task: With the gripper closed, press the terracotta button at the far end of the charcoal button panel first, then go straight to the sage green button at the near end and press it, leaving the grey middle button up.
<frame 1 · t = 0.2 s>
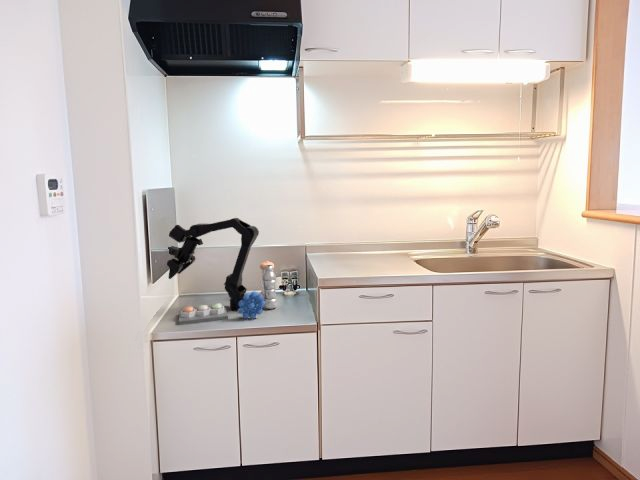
hand: (174, 275, 203), 15 cm above the counter, tool tilted 30°, fingers open, 9 cm apart
grey button: (202, 308, 188), point 4 cm above the counter, slide at 0.0 cm
pepper shaker: (268, 299, 215), on the counter
terracotta button: (188, 310, 186), point 4 cm above the counter, slide at 0.0 cm
sage button: (216, 307, 190), point 4 cm above the counter, slide at 0.0 cm
grapes: (252, 318, 186), on the counter
plastic bottle: (270, 308, 199), on the counter
button panel: (203, 317, 189), on the counter
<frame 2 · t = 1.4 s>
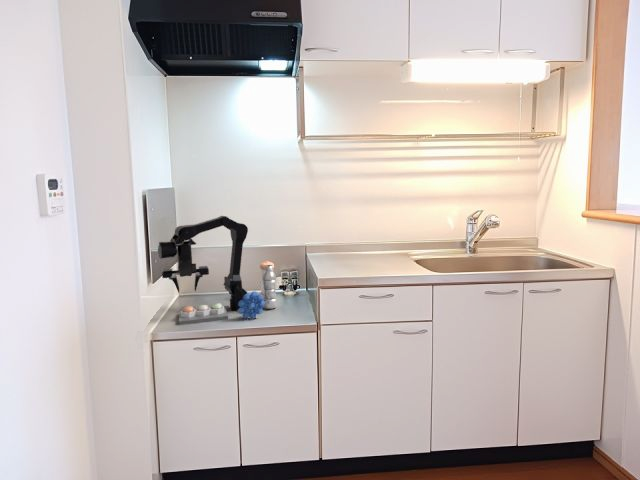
hand: (187, 291, 185), 12 cm above the counter, tool pointing down, fingers open, 6 cm apart
nothing on the counter moved.
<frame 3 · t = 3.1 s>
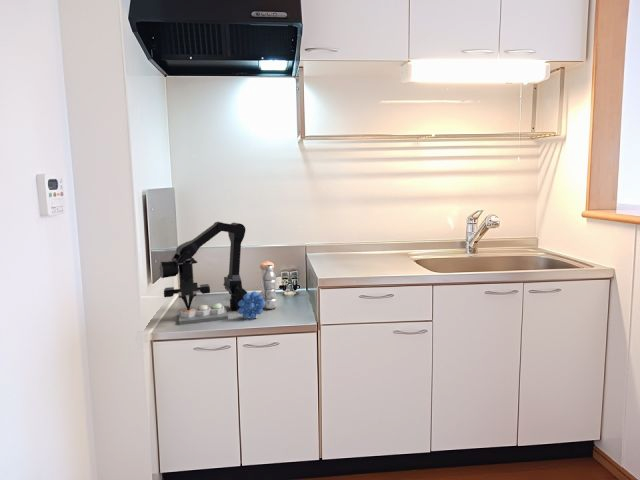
hand: (188, 309, 186), 4 cm above the counter, tool pointing down, fingers closed, pressing on terracotta button
terracotta button: (188, 312, 187), point 3 cm above the counter, slide at 0.9 cm, touching gripper
everything else where it was.
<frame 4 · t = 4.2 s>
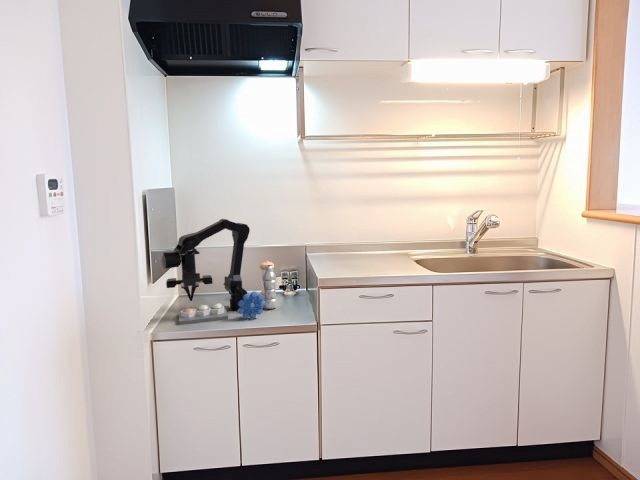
hand: (191, 300, 186), 8 cm above the counter, tool pointing down, fingers closed
terracotta button: (188, 312, 187), point 3 cm above the counter, slide at 1.0 cm
everything else where it was.
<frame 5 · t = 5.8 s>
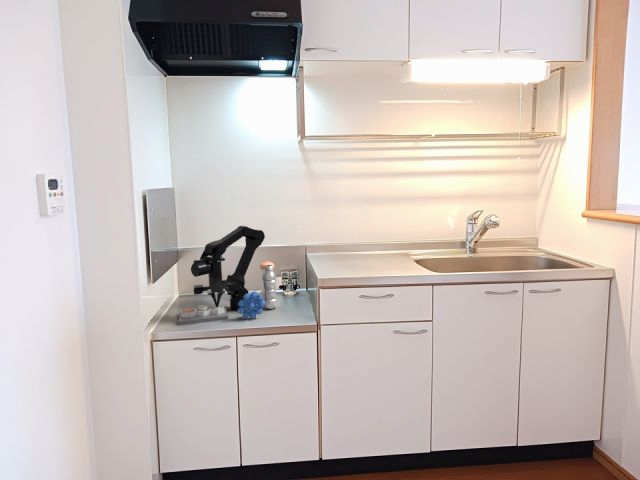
hand: (217, 306, 190), 4 cm above the counter, tool pointing down, fingers closed, pressing on sage button
sage button: (217, 309, 190), point 3 cm above the counter, slide at 1.0 cm, touching gripper
everything else where it was.
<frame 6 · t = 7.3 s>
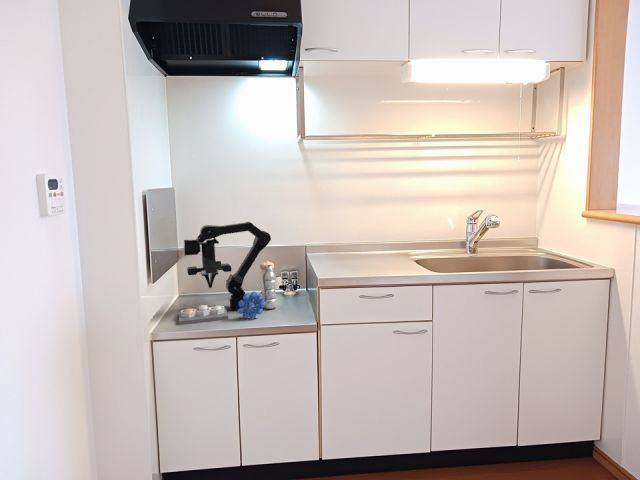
hand: (210, 288, 194), 11 cm above the counter, tool pointing down, fingers closed
sage button: (217, 309, 190), point 3 cm above the counter, slide at 1.0 cm
everything else where it was.
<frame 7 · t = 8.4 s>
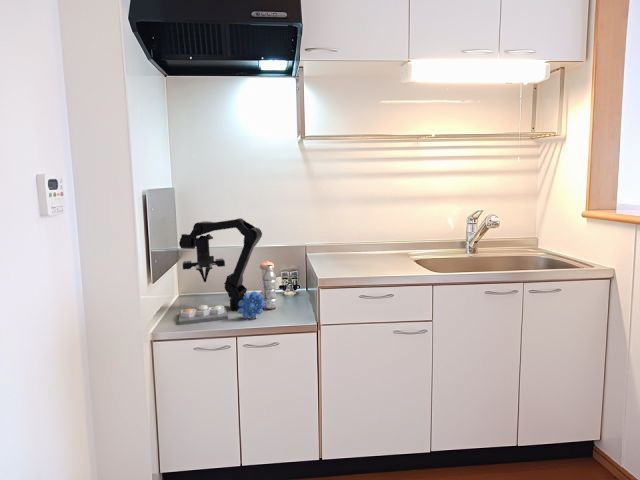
hand: (204, 281, 202), 12 cm above the counter, tool pointing down, fingers closed
nothing on the counter moved.
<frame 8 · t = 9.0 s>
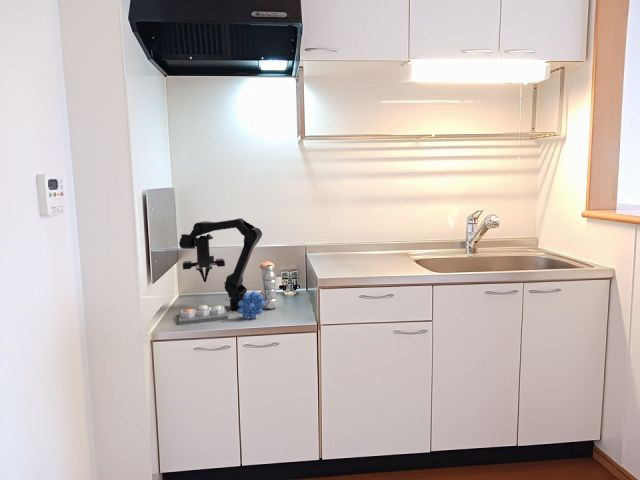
hand: (204, 281, 202), 12 cm above the counter, tool pointing down, fingers closed
nothing on the counter moved.
at the end: terracotta button slide at 1.0 cm; sage button slide at 1.0 cm; grey button slide at 0.0 cm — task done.
